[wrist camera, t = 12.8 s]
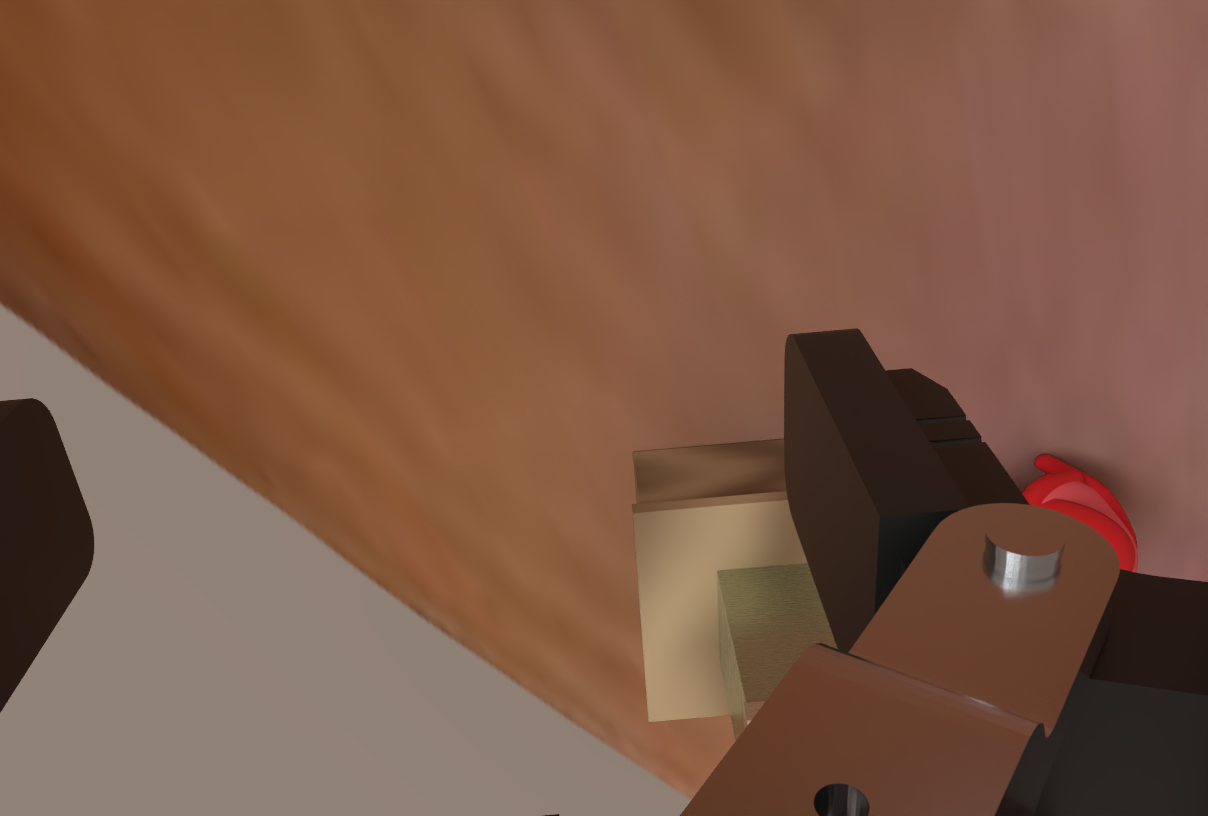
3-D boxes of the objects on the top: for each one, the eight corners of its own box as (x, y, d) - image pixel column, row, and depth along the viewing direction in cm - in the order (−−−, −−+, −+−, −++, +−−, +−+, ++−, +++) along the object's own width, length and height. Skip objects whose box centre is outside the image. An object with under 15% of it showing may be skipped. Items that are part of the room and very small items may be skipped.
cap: (1146, 450, 42) (1047, 507, 39) (1180, 590, 43) (1086, 655, 40) (986, 447, 49) (893, 495, 46) (1018, 567, 50) (929, 621, 47)
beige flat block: (878, 424, 44) (914, 489, 40) (868, 623, 49) (898, 700, 45) (625, 446, 44) (633, 513, 40) (640, 643, 49) (648, 721, 45)
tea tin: (834, 558, 41) (893, 708, 34) (831, 652, 43) (885, 811, 36) (714, 568, 41) (747, 720, 34) (716, 661, 43) (748, 822, 36)
